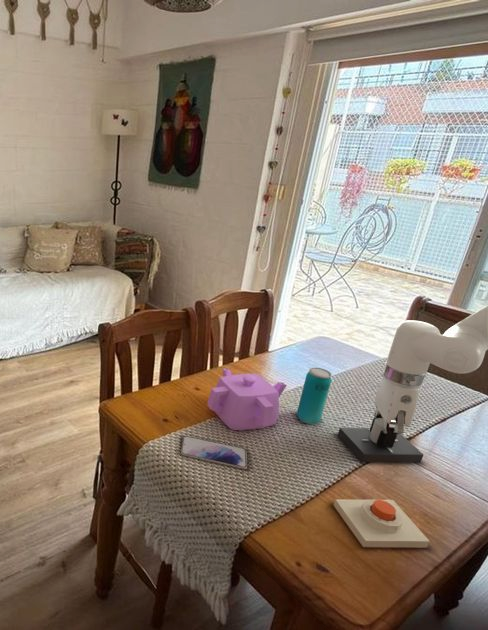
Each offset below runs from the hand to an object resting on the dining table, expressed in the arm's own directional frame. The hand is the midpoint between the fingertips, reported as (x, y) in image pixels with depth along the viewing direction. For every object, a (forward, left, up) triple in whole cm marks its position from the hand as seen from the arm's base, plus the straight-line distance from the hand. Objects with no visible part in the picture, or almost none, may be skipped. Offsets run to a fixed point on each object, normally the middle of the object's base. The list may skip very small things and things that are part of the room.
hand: (380, 438), depth 107 cm
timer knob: (0, 0, 0) cm, 0 cm away
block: (+15, +23, -4) cm, 28 cm away
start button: (+15, +23, 0) cm, 27 cm away
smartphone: (+41, +2, -4) cm, 41 cm away
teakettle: (+28, -14, -4) cm, 32 cm away
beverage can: (+11, -12, -4) cm, 17 cm away
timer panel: (0, 0, -4) cm, 4 cm away
